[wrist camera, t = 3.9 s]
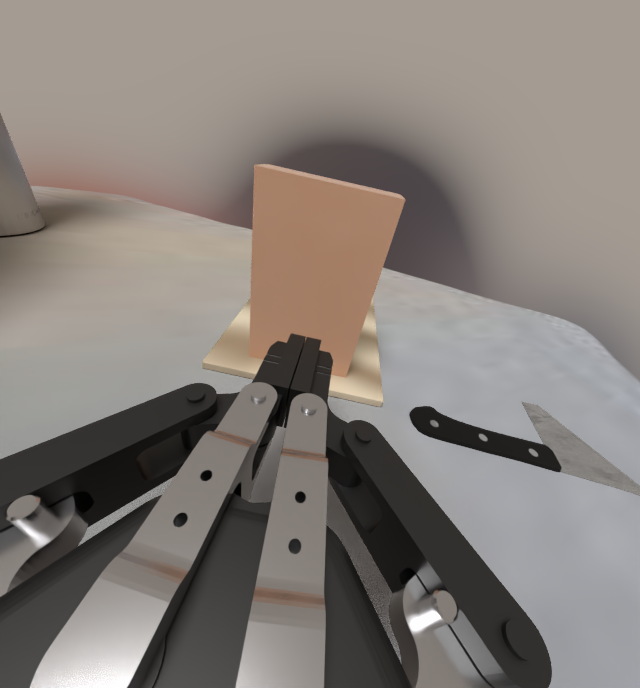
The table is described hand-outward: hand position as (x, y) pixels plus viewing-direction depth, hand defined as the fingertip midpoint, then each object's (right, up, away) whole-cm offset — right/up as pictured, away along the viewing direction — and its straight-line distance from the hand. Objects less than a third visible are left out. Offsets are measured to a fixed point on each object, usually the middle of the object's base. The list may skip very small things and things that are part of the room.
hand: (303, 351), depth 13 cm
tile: (-1, -1, +10) cm, 10 cm away
